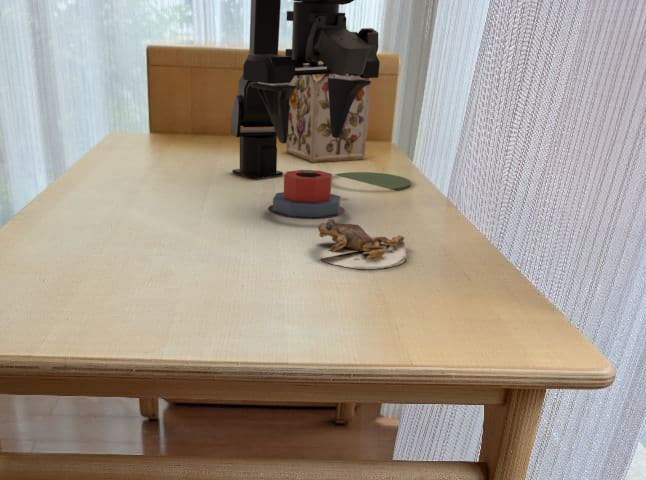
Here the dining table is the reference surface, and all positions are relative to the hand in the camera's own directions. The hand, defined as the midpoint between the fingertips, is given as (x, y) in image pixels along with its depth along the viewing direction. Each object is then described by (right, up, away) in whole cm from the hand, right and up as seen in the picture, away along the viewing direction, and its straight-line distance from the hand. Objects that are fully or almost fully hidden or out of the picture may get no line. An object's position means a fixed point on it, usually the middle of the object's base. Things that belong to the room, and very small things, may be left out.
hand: (309, 140), depth 110 cm
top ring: (0, -6, +4) cm, 7 cm away
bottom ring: (0, -7, +5) cm, 9 cm away
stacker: (0, -8, +6) cm, 10 cm away
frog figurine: (+6, -19, -10) cm, 23 cm away
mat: (+11, +6, +26) cm, 29 cm away
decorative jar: (+6, +19, +46) cm, 50 cm away
